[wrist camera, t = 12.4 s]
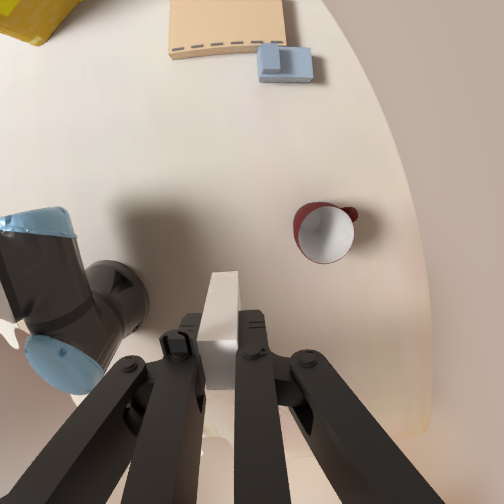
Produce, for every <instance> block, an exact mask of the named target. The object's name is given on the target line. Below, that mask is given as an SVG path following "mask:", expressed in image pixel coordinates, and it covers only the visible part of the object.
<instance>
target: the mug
mask: <svg viewBox="0 0 504 504" xmlns="http://www.w3.org/2000/svg"><path fill="white" fill-rule="evenodd" d="M357 218H358V212H357V210H356V209H355V208H353V207H344V208H339V207H337V206H335V205H333V204H330V203H326V202H314V203H308V204H306V205H304V206H302V207H301V208H300V209H299V210H298V211H297V213H296V215H295V217H294V222H293V229H294V238H295V241H296V243H297V246H298V247H299V249H300V250H301V252H302V253H303V254H304V256H305V257H307V258H308V259H309V260H311V261H313V262H315V263H319V264H329V263H333V262H336V261H338V260H339V259H341V258H342V257H343V256H345V255H346V254H347V252H348V251H349V250H350V248H351V246H352V244H353V241H354V234H355V231H354V225H353V222H354V221H356V220H357Z"/></svg>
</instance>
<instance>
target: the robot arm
mask: <svg viewBox="0 0 504 504" xmlns="http://www.w3.org/2000/svg"><path fill="white" fill-rule="evenodd" d="M148 309H149V300H148V295H147V292H146V289H145V287H144V285H143V284H142V282H141V280H140V279H139V278H138V277H137V275H136V274H135V273H134V272H132V271H131V270H130V269H129V268H127V267H126V266H124V265H122V264H120V263H117V262H114V261H108V260H104V261H98V262H96V263H94V264H92V265H91V266H89V267H88V268H87V269H86V270H84V266H83V263H82V259H81V255H80V251H79V248H78V244H77V236H76V234H75V233H74V230H73V226H72V222H71V219H70V215H69V213H68V212H67V210H66V209H64V208H62V207H59V206H57V207H48V208H42V209H36V210H31V211H26V212H21V213H17V214H13V215H8V216H3V217H0V319H3V320H6V321H8V322H10V323H12V324H14V323H17V322H18V321H20V320H22V319H24V321H25V324H26V326H27V328H28V330H29V332H30V336H29V337H28V338H27V339H26V343H25V350H24V351H25V355H26V358H27V360H28V362H29V363H30V365H31V366H32V368H33V369H34V370H35V371H36V372H37V374H39V375H40V376H41V377H42V378H43V379H44V380H45V381H46V382H48V383H49V384H51V385H52V386H54V387H56V388H57V389H59V390H62V391H64V392H66V393H69V394H74V395H86V394H88V395H87V397H86V398H85V399H84V400H83V401H82V403H81V404H80V405H79V406H78V407H77V408H76V410H75V411H74V412H73V413H72V414H71V416H70V417H69V418H68V419H67V420H66V422H65V423H64V424H63V425H62V427H61V428H60V429H59V430H58V432H57V433H56V434H55V435H54V436H53V437H52V439H51V440H50V441H49V442H48V444H47V445H46V446H45V447H44V448H43V450H42V451H41V452H40V453H39V455H38V456H37V457H36V459H35V460H34V461H33V462H32V464H31V465H30V466H29V467H28V469H27V470H26V471H25V473H24V474H23V475H22V476H21V478H20V479H19V480H18V482H17V483H16V484H15V486H14V487H13V488H12V490H11V491H10V492H9V494H7V495H6V496H4V497H2V498H1V499H0V504H106V502H107V500H108V499H109V497H110V495H111V494H112V492H113V490H114V489H115V487H116V485H117V484H118V482H119V480H120V478H121V477H122V475H123V473H124V472H125V470H126V468H127V467H128V465H129V463H130V462H131V464H130V468H129V472H128V476H127V480H126V484H125V488H124V492H123V496H122V500H121V504H196V500H197V488H198V476H199V465H200V454H201V444H202V434H203V424H204V415H205V406H206V395H205V391H204V390H205V383H206V387H207V390H231V389H235V421H234V504H291V498H290V490H289V483H288V476H287V468H286V461H285V453H284V446H283V439H282V432H281V424H280V417H279V410H278V405H282V406H288V408H289V410H290V412H291V414H292V416H293V418H294V420H295V421H296V423H297V425H298V427H299V429H300V431H301V432H302V434H303V436H304V438H305V440H306V442H307V443H308V445H309V447H310V449H311V450H312V452H313V454H314V456H315V457H316V459H317V461H318V463H319V465H320V466H321V468H322V470H323V471H324V473H325V475H326V477H327V478H328V480H329V482H330V484H331V485H332V487H333V489H334V490H335V492H336V494H337V495H338V497H339V498H340V500H341V502H342V504H445V503H444V501H443V500H442V499H441V498H440V497H439V496H438V494H437V493H436V492H435V491H434V490H433V488H432V487H431V486H430V485H429V484H428V483H427V481H426V480H425V479H424V478H423V476H422V475H421V474H420V473H419V472H418V470H416V468H415V467H414V466H413V464H412V463H411V462H410V461H409V460H408V458H407V457H406V456H405V455H404V454H403V452H402V451H401V450H400V449H399V448H398V446H397V445H396V444H395V443H394V441H393V440H392V439H391V438H390V437H389V435H388V434H387V433H386V432H385V431H384V429H383V428H382V427H381V426H380V424H379V423H378V422H377V421H376V420H375V418H374V417H373V416H372V415H371V413H370V412H369V411H368V410H367V408H366V407H365V406H364V405H363V404H362V402H361V401H360V400H359V399H358V397H357V396H356V395H355V394H354V393H353V391H352V390H351V389H350V388H349V386H348V385H347V384H346V383H345V381H344V380H343V379H342V378H341V376H340V375H339V374H338V373H337V371H336V370H335V369H334V368H333V367H332V365H331V364H330V363H329V362H328V360H327V359H326V358H325V357H324V355H322V354H321V353H320V352H318V351H315V350H308V349H306V350H300V351H298V352H295V353H294V354H293V355H292V356H291V358H288V357H282V356H278V355H276V354H274V353H273V352H271V350H270V349H269V347H268V340H267V333H266V326H265V319H264V314H263V313H262V312H261V311H260V310H246V311H241V301H240V289H239V276H238V271H229V272H212V276H211V280H210V284H209V288H208V293H207V297H206V301H205V306H204V310H203V313H194V314H187V315H186V316H185V317H184V318H183V319H182V321H181V324H180V327H179V329H177V330H171V331H168V332H166V333H164V334H163V335H162V336H161V337H160V338H159V340H160V344H161V347H162V351H163V354H164V356H163V359H161V360H159V361H155V362H150V363H145V361H144V360H143V359H142V358H141V357H139V356H134V355H131V356H125V357H123V358H121V359H120V360H118V361H117V362H116V363H115V364H114V365H113V367H112V368H111V369H110V370H109V371H108V372H107V373H106V375H105V376H104V374H105V372H106V370H107V368H108V366H109V364H110V362H111V360H112V358H113V356H114V354H115V352H116V351H117V349H118V347H119V345H120V343H121V341H122V339H124V338H125V337H127V336H129V335H130V334H132V333H133V332H135V331H136V330H137V329H138V328H139V327H140V326H141V325H142V323H143V322H144V320H145V318H146V316H147V313H148ZM131 460H132V461H131Z"/></svg>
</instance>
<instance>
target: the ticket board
mask: <svg viewBox="0 0 504 504" xmlns="http://www.w3.org/2000/svg"><path fill="white" fill-rule="evenodd" d="M261 43H278V46H279V47H286V46H287V45H286V35H285V25H284V17H283V8H282V0H170V17H169V46H168V54H169V56H170V57H171V58H172V60H176V59H183V58H190V57H197V56H206V55H215V54H227V53H245V52H257V50H258V46H261Z"/></svg>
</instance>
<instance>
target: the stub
mask: <svg viewBox="0 0 504 504" xmlns="http://www.w3.org/2000/svg"><path fill="white" fill-rule="evenodd" d="M257 60H258V75H259V82H304V83H309V82H310V81H311V80H312V79H313V68H312V58H311V49H310V48H302V47H279V46H278V43H261V46H258V50H257Z"/></svg>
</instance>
